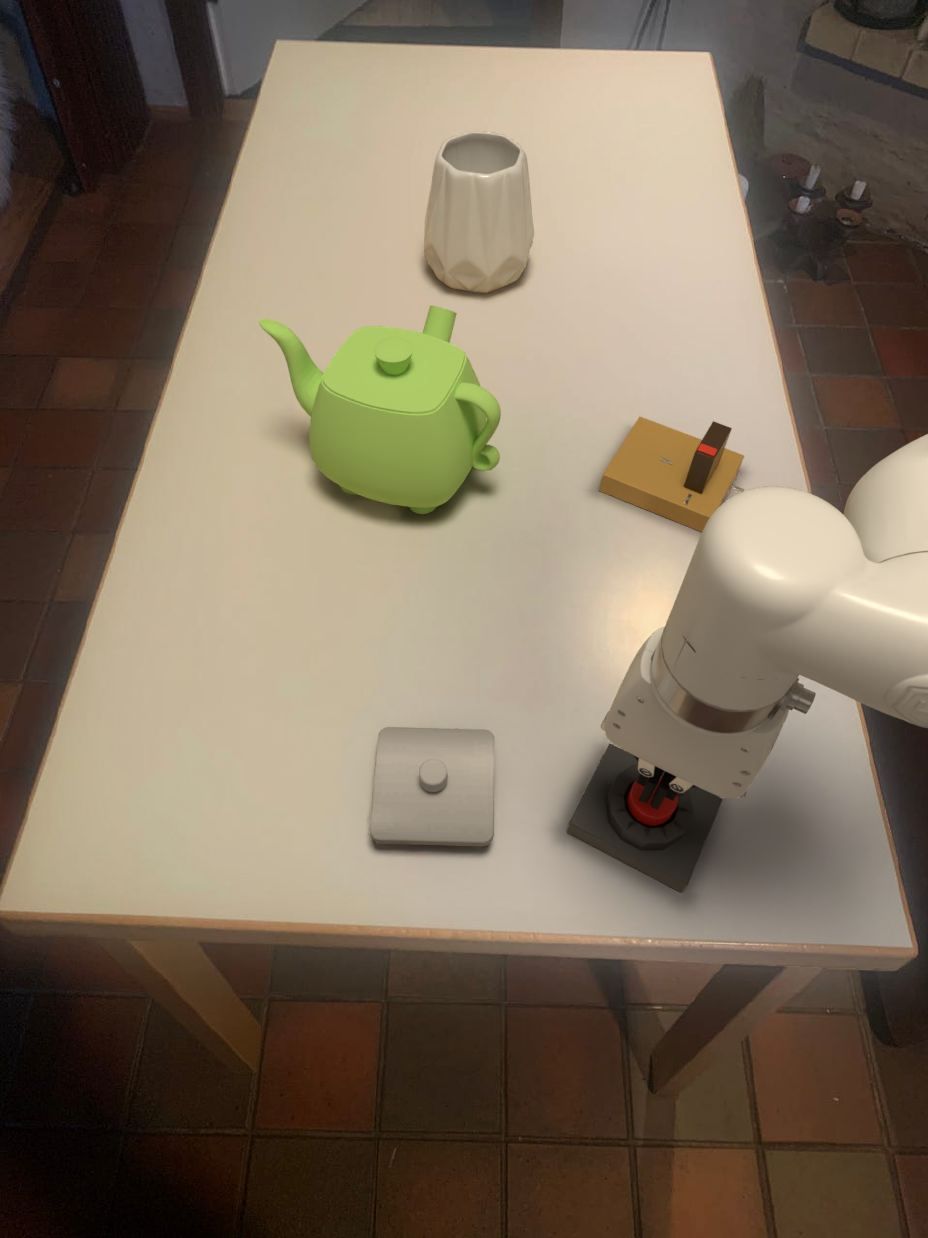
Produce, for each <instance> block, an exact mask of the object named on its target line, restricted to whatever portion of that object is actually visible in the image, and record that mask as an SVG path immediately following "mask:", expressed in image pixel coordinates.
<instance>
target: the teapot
mask: <svg viewBox="0 0 928 1238" xmlns="http://www.w3.org/2000/svg"><path fill="white" fill-rule="evenodd" d="M457 314H458V313H457V312H456V311H453V310H450V309H447V308H443V307H441V306H437V305H429V308H428V311H427V315H426V317H425V322H424V325H423V329H422V332H419V331H416V330H411V329H405V328H399V327H393V326H383V325H367V326H362V327H359V328H357V329H356V330H354V331H353V332H351V334H349V335H348V336H347V338H346V339H345V340H344V341H343V343H342V344H341V346H340V347H339V348H338V350H337V351H336V352H335V354H334V355H333V357H332V358H331V360H330V362H329V363H328V365H327V366H326V369H325V370H324V372H323V371H322V370H321V369H320V368H319V367H318V366H317V365H316V364H315V362H314V361H313V360H312V358H311V356H310V354H309V352H308V351H307V348H306V347H305V345H304V343H303V342H302V341H301V339H300V338H299V336H297V334H296V333H295V332H294V331H293V330H292V329H291V328H289V327H288V326H286V325H285V324H283V323H281V322H280V321H277V320H274V319H270V318H261V319H259V321H258V324H259V326H260V327H261V328H262V330H263V331H264V332H266V333H267V334H268V335H269V336H270V337H271V339H273V340H274V341H275V342H276V343H277V345H278V347H279V348H280V350H281V352H282V354H283V356H284V359H285V362H286V366H287V369H288V373H289V378H290V382H291V386H292V390H293V393H294V396H295V398H296V400H297V402H298V403H299V405H300V407H301V408H302V409H303V411H305V413H306V414H307V415H308V416H309V417H310V421H309V435H308V436H309V450H310V454H311V459H312V460H313V462H314V464H315V466H316V468H317V469H318V470H319V471H320V472H321V473H322V474H323V475H324V476H325V477H326V478H327V479H329V480H330V481H332V482H333V483H335V484H337V485H338V486H340V489H341V490H342V491H343V492H344V493H346V494H348V495H359V496H361V497H363V498H366V499H369V500H372V501H375V502H380V503H383V504H388V505H394V506H402V507H408V508H409V510H411V511H412V512H413V513H415V514H419V515H425V514H430V513H432V512H433V511H435V509H436V508H437V507H439V506H442V505H444V504H445V503H447V502H448V501H449V500H450V499H451V498H452V497H453V496H454V495H455V494H456V492H457V491H458V490H459V488H460V487H461V486H462V484H463V483H464V481H465V480H466V478H467V476H468V475H469V473H470V472H471V470H472V469H473V468H474V469H475V470H477V471H481V472H489V471H492V470H493V469H495V468H496V467H497V466H498V464H499V463H500V459H501V454H500V451H499V449H497V447H495V446H494V445H491V444H488V442H489V441H490V440H491V439H492V437H493V435H494V434H495V433H496V431H497V429H498V427H499V424H500V421H501V418H502V417H501V416H502V410H501V406H500V403H499V401H498V400H497V398H496V397H495V396H494V394H493V393H491V392H490V391H489V390H487V389H486V388H484V387H482V386H481V383H480V381H479V379H478V376H477V374H476V372H475V370H474V368H473V365H472V364H471V362H470V358H469V357H468V356H467V354H466V352H464V350H462V349H461V348H460V347H459V346H457V345H455V344H453V343H451V339H452V334H453V332H454V331H453V330H454V326H455V322H456V317H457Z"/></svg>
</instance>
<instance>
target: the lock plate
mask: <svg viewBox="0 0 928 1238" xmlns="http://www.w3.org/2000/svg"><path fill="white" fill-rule="evenodd" d="M702 439H703V438H698V437H696V436H693V435H691V434H688V433H686V432H682V431H680V430H676V429H675V428H672V427H669V426H666V425H664V424H661V423H659V422H656V421H654V420H650V419H648V418H645V417H642V416H639V417H638V418H637V420H636V421H635V423H634V425H633V426H632V428H631V429H630V431H629V432H628V433H627V436H626V437H625V438H624V440H623V441H622V443H621V445H620V447H619V448H618V449H617V451H616V453H615V455H614V456H613V457H612V459H611V461H610V462H609V463H608V465H607V467H606V468H605V470H604V471H603V473H602V476H601V480H600V485H599V492H601V493H604V494H606V495H609V496H611V497H614V498H616V499H618V500H621V501H624V502H626V503H629V504H631V505H633V506H636V507H639V508H641V509H643V510H645V511H648V512H651V513H654V514H655V515H658V516H661V517H662V518H666V519H668V520H670V521H673V522H675V523H678V524H680V525H683V526H685V527H688V528H690V529H692V530H695V531H697V532H700V533H702V531H703V529H704V527H705V525H706V523H707V521H708V520H709V518H710V517H711V515H712V514H713V513H714V512H715V510H716V509H717V508H718V507H719V506H721V505H722V504H723V503H724V500H725V498H726V496H727V494H728V492H729V491H730V489H733V490H735V491H738V492H739V493H741V492H743V491H746V489H745V488H742V487H739V486H737V485H734V484H733V483H734V481H735V479H736V477H737V476H738V473H739V471H740V469H741V466H742V463H743V460H744V458H745V455H744V454H742V453H739V452H736V451H733V450H731V449H728V448H726V447H725V449H724V451H723V454H722V457H721V460H720V462H719V464H718V466H717V468H716V470H715V471H714V473H713V475H712V477H711V479H710V480H709V482H708V484H707V486H706V487H705V489H704V491H703V493H702V494H701V493H698V492H696V491H693V490H691V489H688V488H686V487H684V484H685V481H686V478H687V475H688V472H689V469H690V465H691V462H692V459H693V456H694V453H695V451H696V449H697V448H698V446H699V444H700V443H701V441H702Z"/></svg>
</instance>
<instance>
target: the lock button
mask: <svg viewBox="0 0 928 1238" xmlns="http://www.w3.org/2000/svg"><path fill="white" fill-rule="evenodd" d="M661 778H662V776H661ZM661 778H660V780H661ZM660 780H659V783H660ZM636 782H637V780H636V781H635V782H634V784H633V786H632V788H631V790H630V793H629V795H628V807H629V810H630V812H631V814H632V815H633V816H634V818H636V819H637V820H638V821H639V822H641V823H643V824H646V825H650V826H656V825H661V824H663V823H665V822H666V821H667V820H668V819H669V818H670V817H671V815H672V814H673V812H674V810H675V808H676V806H677V803H678V796H676V797H675V799H674V801H672V800H670V799H668V798H666V797H665V798H664V800H663V802H662V804H661V805H660V807H659V809H658V810H656V809H654V808H652V805H650V802H651V800H652V798H653V796H654V794H655V791H656V789H657V787H658V785H659V783H658V785H657V787H656V789H655V790H654V792H653V794H652V796H651V798H650V800H649V802H648V803H646V802H645V803H642V802H640V801H638V800H639V798H640V795H641V793H642V791H643V789H644V786H642V785H640V784H638V783H636Z"/></svg>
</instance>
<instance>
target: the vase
mask: <svg viewBox="0 0 928 1238" xmlns="http://www.w3.org/2000/svg"><path fill="white" fill-rule="evenodd" d="M533 218H534V217H533V208H532V195H531V182H530V173H529V162H528V155H527V153H526V152H525V150H524V149H523V147H522V146H521V145H520V143H518V142H516V141H515V140H514V139H513V138H512V137H509V136H507V135H505V134H502V133H497V132H488V131H486V130H485V131H484V130H477V131H476V130H475V131H467V132H461V133H460V134H457V135H453V136H451V137H448V138H446V139H445V140H443V142H442V143H441V145H440V147H439V150H438V152H437V153H436V157H435V160H434V165H433V170H432V176H431V184H430V188H429V195H428V200H427V204H426V211H425V217H424V230H423V231H424V238H423V253H424V257H425V259H426V262H427V263H428V265H429V267H430V268H431V269H432V271H433V272H434V275H435V277H436V278H437V279H438V280H439V281H440V282H441V283H442V284H444V285H445V286H447V287H449V288H451V289H455V290H460V291H466V292H471V293H472V292H473V293H482V294H487V293H491V292H493V291H496V290H498V289H500V288H504V287H506V286H509V285H511V284H513V283H514V282H516V281H517V280H519V278H520V277H521V275H522V274H523V272H524V270H525V268H526V267H527V265H528V260H529V255H530V251H531V248H532V246H533V243H534V237H535V227H534V219H533Z"/></svg>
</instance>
